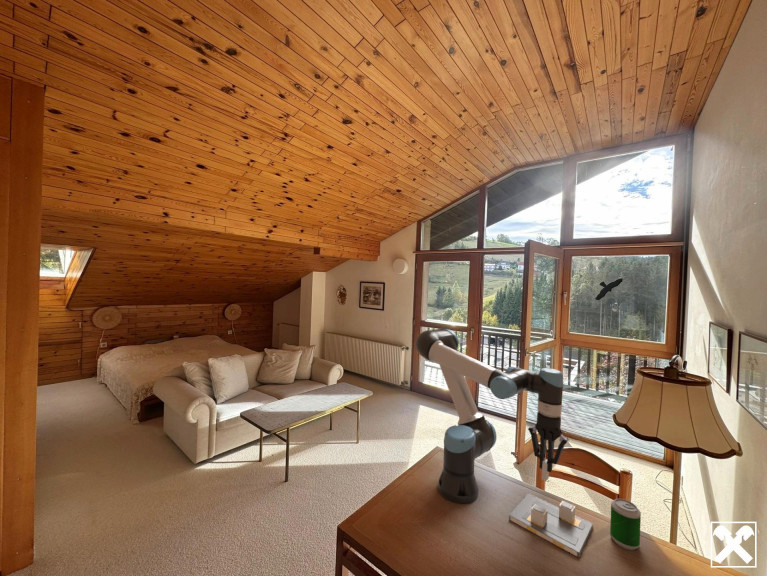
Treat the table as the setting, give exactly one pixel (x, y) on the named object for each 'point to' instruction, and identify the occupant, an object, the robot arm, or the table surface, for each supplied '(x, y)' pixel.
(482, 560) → the table surface
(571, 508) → the slider far
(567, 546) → the switch board
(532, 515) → the slider near
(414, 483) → the table surface
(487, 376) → the robot arm
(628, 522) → the soda can
